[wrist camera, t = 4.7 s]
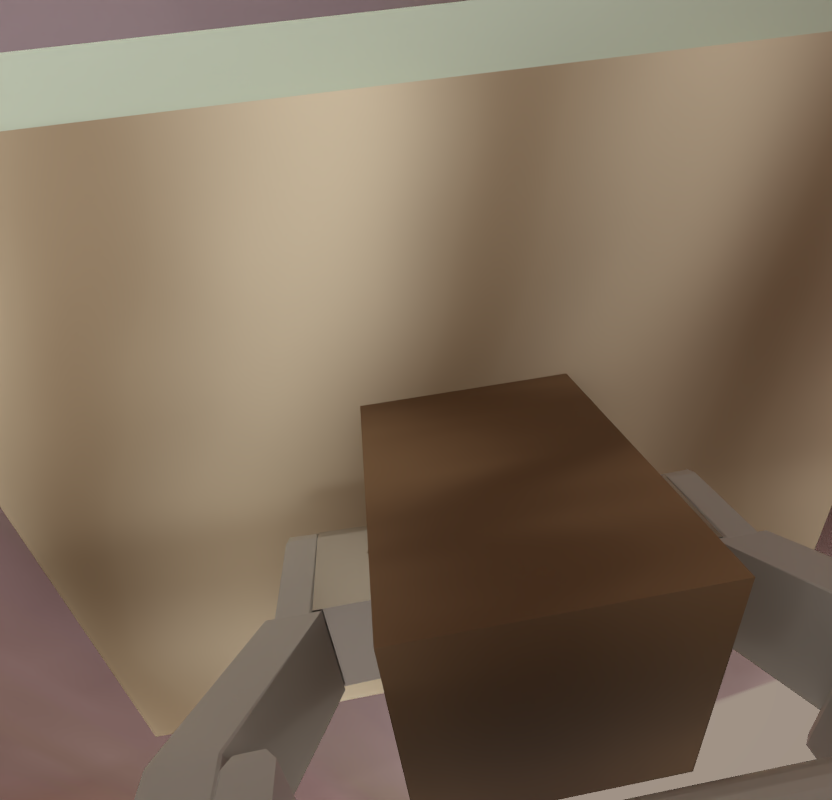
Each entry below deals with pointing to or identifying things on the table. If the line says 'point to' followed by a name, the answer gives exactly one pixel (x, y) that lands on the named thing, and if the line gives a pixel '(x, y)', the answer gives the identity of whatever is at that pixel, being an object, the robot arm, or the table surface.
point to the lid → (434, 388)
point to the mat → (369, 52)
